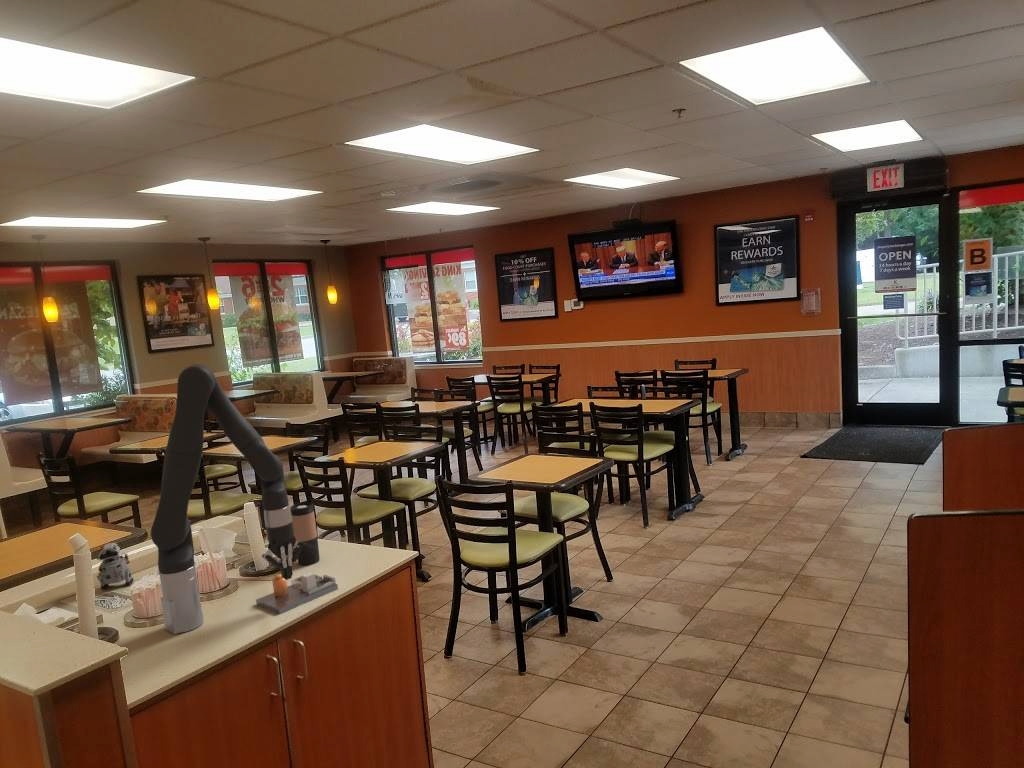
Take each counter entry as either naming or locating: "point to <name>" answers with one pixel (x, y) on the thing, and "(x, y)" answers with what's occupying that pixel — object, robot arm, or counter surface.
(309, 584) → the block
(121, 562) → the figurine
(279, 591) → the cap
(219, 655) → the counter surface
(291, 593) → the panel
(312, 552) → the travel mug
